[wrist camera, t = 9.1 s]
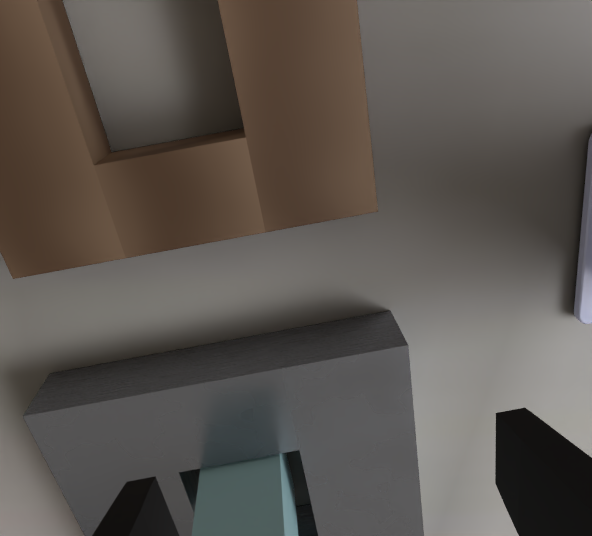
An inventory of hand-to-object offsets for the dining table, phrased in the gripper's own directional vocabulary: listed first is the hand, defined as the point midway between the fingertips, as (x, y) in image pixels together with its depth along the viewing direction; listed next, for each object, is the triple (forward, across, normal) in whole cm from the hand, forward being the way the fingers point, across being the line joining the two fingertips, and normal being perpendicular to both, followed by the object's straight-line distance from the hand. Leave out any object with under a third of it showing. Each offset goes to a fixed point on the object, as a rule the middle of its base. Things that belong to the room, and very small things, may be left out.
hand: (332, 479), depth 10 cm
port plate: (+9, +4, +9) cm, 13 cm away
